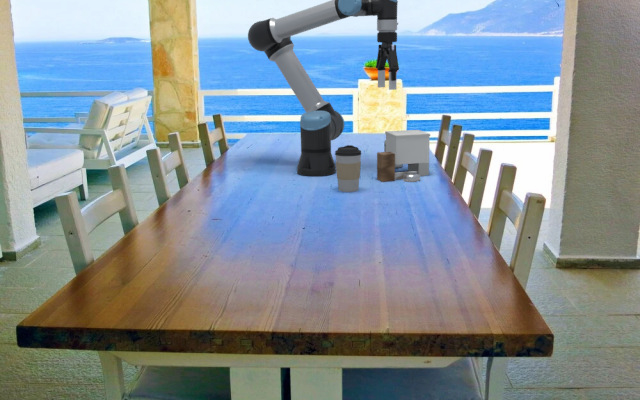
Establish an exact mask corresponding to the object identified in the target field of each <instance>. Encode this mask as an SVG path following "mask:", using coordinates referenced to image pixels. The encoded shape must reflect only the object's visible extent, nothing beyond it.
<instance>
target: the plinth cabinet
mask: <svg viewBox="0 0 640 400" xmlns="http://www.w3.org/2000/svg"><path fill="white" fill-rule="evenodd" d="M430 137H431V133H429V132H426V131H422V130H421V129H409V130H408V129H407V130H392V131H391V130H389V131H388V130H387V131H386V130H385V140H386V152H392V153H394V154H395V164H396V165H397V164H403V165H407V172H410V171H417V173H419V174H420V177H426V176H425V175H429V176H430V174H429V173H430V139H431V138H430Z"/></svg>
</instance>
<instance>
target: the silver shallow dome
mask: <svg viewBox="0 0 640 400" xmlns="http://www.w3.org/2000/svg"><path fill="white" fill-rule="evenodd" d="M402 180H403V182H407V183H418V182H417V181H419V182H420V181H421V176H420V174H419V173H404V177H403V179H402Z"/></svg>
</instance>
